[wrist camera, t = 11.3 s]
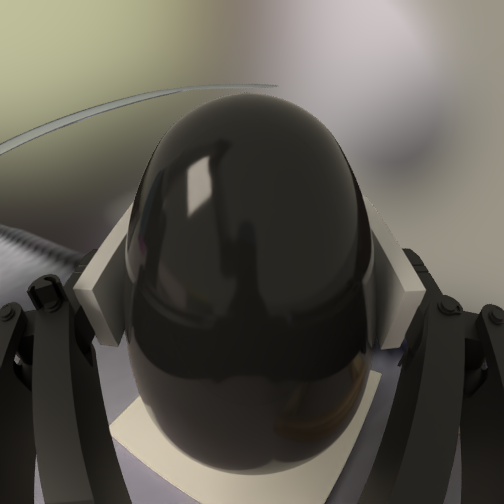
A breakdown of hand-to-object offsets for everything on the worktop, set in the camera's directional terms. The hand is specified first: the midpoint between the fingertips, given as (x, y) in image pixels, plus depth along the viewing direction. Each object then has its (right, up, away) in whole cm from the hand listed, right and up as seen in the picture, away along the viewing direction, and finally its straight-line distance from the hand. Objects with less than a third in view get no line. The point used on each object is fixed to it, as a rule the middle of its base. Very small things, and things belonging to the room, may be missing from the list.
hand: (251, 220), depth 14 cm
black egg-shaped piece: (0, -10, +2) cm, 10 cm away
